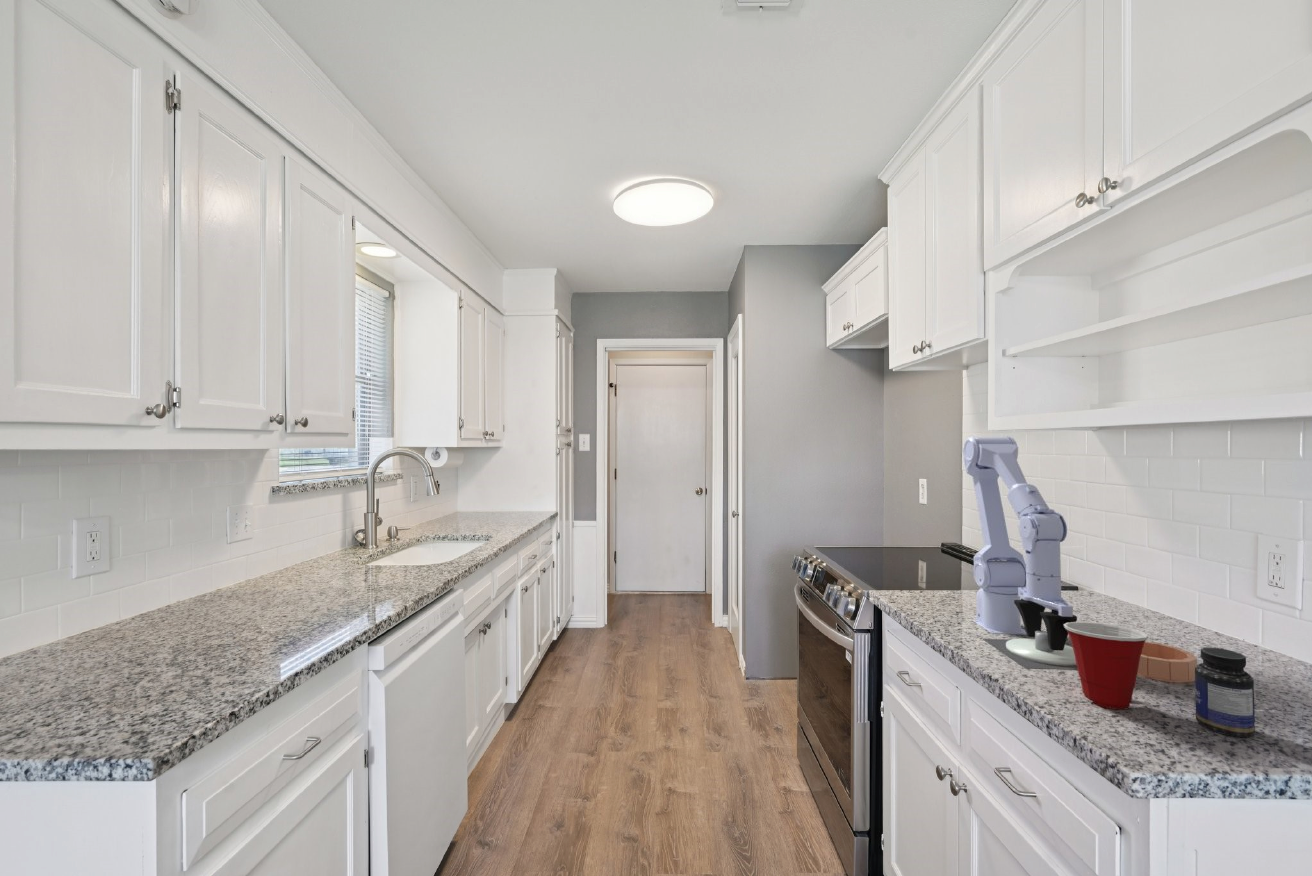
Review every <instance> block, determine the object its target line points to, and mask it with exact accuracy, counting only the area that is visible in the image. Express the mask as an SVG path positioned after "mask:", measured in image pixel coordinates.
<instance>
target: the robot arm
mask: <svg viewBox="0 0 1312 876" xmlns="http://www.w3.org/2000/svg"><path fill="white" fill-rule="evenodd" d="M962 456H963V462H964V469H965V472H966V474H967V475H968V476H969V475H970V476H971V477H972V482H973V488H974V494H975V500H976V505H977V509H978V511H977V512H978V516H979V521H980V527H981V533H982V534H981V535H982V539H983V545H984V546H983V547H982V549H980V550H979V551H977V553H975V555H974V556H973V580H974V581H975V583H976V584H977V585H978V587H979V588H980V589H978V591H977V593H976V597H975V598H976V619H972V622H974V623H976V624H977V625H978V626H980V627H982V628H983V629H985V630H986V631H988V632H989V633H991V634H996V635H997V634H1001V635H1002V634H1003V635H1004V634H1005V635H1006V634H1007V635H1008V634H1010V635H1011V634H1012V635H1026V636H1027V637H1029V638H1035V631H1042V624H1043V623H1044V625H1045V630H1046V632H1047V636H1048V643H1049V647H1050V649H1051V650H1062V651H1063V649H1064V646H1065V643H1067V639H1068V636H1069V634H1068V632H1067V630H1066V628H1065V627H1064V625H1063V624H1065V623H1069V622H1078V616H1076V615H1075V614H1073V613H1074V609H1073V608H1074V606H1072V605H1070V604H1069V603H1068V602H1067V601H1066V600H1065V599H1064V598H1063V597H1062V575H1061V574H1062V570H1061V569H1062V567H1061V565H1062V564H1061V543H1062V542H1064V541H1065V540H1066V538H1067V535H1068V526H1067V523H1066V520H1065V518H1064V516H1063V515H1062V514H1061V513H1059V512H1056V511H1055V509H1051V508H1049V506H1048V504H1047V502H1046V501H1045V499H1044V497H1043V496H1042V494H1041V493H1040V490H1039V489H1038V488H1037V486H1035V485H1034V484H1030V483H1029V484H1028V482H1027V479H1026V478H1025V477H1026V476H1024V475H1025V474H1024V473H1023V471H1022V469H1021V467H1020V464H1019V463H1018V457H1019V447H1018V444H1017V441H1016V440H1015V439H1014V438H1013V437H1012V436H1005V437H1004V436H1002V437H1001V436H999V437H998V436H995V437H994V436H992V437H991V436H990V437H987V436H985V437H982V436H981V437H979V436H978V437H977V436H976V437H974V436H969V437H967V438H966V440H965V442H964V444H963V449H962ZM999 477H1000V478H1001V479H1002V480H1001V481H1003V482H1004V485H1005V486H1006V487H1007V488H1008V490H1009V491H1008V493H1007V499H1008V501H1009V504H1010V505H1011V507H1012V509H1013V510H1014V512H1015V515H1016V516H1017V518H1018V520H1019V521H1018V522H1019V523H1018V534H1019V536H1020V538H1021V546H1022V549H1023V550H1025V559H1024V555H1023V554H1022V553H1021V552H1019V551H1018V550H1017V549H1015V548H1014V547H1012V546H1011V545H1010V540H1009V539H1010V538H1009V533H1008V528H1007V523H1006V519H1005V515H1004V514H1005V513H1004V508H1003V503H1002V502H1003V501H1002V497H1001V492H1000V487H999V483H998V482H999V481H998V479H999ZM1046 609H1048V610H1051V611H1045V610H1046ZM1022 622H1023V626H1024V628H1022ZM1042 622H1043V623H1042Z"/></svg>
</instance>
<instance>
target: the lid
mask: <svg viewBox="0 0 1312 876" xmlns="http://www.w3.org/2000/svg"><path fill="white" fill-rule="evenodd" d="M1006 649H1007V650H1008V651H1009V652H1010V653H1012V654H1013V655H1016V656H1018V657H1020V658H1023V659H1026V660H1030V661H1033V662H1038V663H1043V664H1048V665H1056V666H1077V664H1076V660H1075V655H1074V650H1073V647H1070V646H1068V645H1065V646H1064V649H1063V651H1062V650H1051V649H1050V647H1049V643H1048V636H1047V630H1046V631H1045V630H1041V631H1035V637H1034V638H1026V637H1025V638H1023V637H1021V638H1012V640H1009V641H1007V642H1006Z"/></svg>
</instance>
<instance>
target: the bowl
mask: <svg viewBox="0 0 1312 876" xmlns="http://www.w3.org/2000/svg"><path fill="white" fill-rule="evenodd" d="M1197 659H1198V658H1196V656H1195V655H1194V654H1193V653H1192V652H1189V651H1187V650H1185V649H1182V648H1179V647H1177V646H1176V647H1175V646H1172V645H1168V644H1164V643H1160V642H1155V641H1154V642H1153V641H1148V640H1146V641H1145V643H1144V647H1143V649H1142V654H1141V656H1140V662H1139V667H1138V672H1137V676H1140V677H1143V678H1147V679H1151V680H1155V681H1161V682H1169V683H1191V682H1195V667H1196V666H1197V665H1198V661H1197Z"/></svg>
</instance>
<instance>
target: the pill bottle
mask: <svg viewBox="0 0 1312 876" xmlns="http://www.w3.org/2000/svg"><path fill="white" fill-rule="evenodd" d="M1200 658H1201V659H1202V662H1200V663H1197V666H1196V667H1195V680H1194V691H1195V692H1194V693H1195V694H1194V695H1195V700H1194V702H1195V719H1196V722H1197V723H1198V724H1199V725H1201V726H1202V727H1203V728H1206V729H1207V730H1209V731H1212V732H1215V733H1218V734H1222V735H1226V736H1230V737H1235V738H1251V737H1252V736H1254V734H1255V733H1256V730H1255V729H1256V726H1255V724H1256V723H1255V721H1256V718H1255V692H1254V689H1255V687H1254V686H1255V684H1254V683H1255V680H1254V679H1253V678H1254V677H1252V675H1251V674H1250V673H1248V672H1247V671H1245V670H1244V669H1245V667H1246V666H1247V657H1246V656H1245V655H1243V654H1242V653H1240V652H1237V651H1235V650H1230V649H1225V648H1219V647H1210V646H1209V647H1208V646H1206V647H1202V648H1200Z"/></svg>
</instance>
